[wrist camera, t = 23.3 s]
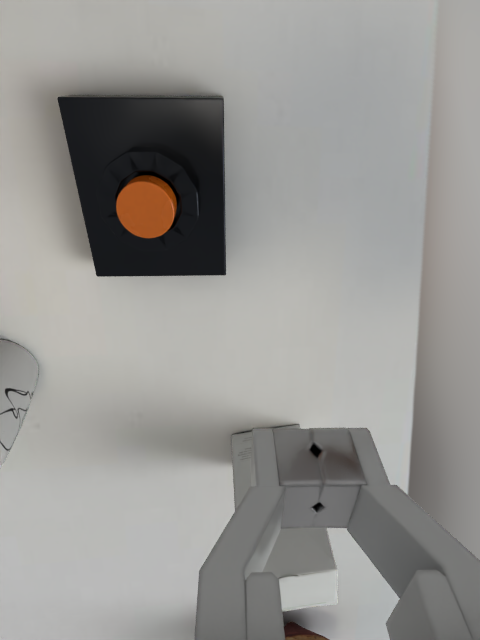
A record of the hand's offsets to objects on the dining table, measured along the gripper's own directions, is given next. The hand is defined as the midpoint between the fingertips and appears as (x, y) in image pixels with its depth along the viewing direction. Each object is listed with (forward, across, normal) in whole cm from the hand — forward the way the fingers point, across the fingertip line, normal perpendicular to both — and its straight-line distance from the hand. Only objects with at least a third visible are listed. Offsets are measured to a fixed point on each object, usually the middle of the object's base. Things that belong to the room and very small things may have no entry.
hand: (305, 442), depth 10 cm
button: (+19, +7, -1) cm, 20 cm away
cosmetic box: (+22, -2, +29) cm, 36 cm away
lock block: (+22, +7, -1) cm, 24 cm away
